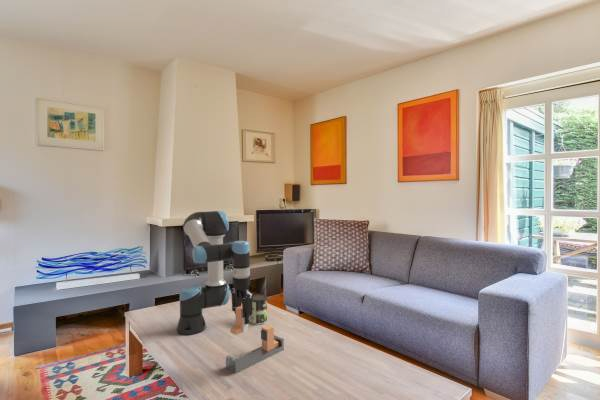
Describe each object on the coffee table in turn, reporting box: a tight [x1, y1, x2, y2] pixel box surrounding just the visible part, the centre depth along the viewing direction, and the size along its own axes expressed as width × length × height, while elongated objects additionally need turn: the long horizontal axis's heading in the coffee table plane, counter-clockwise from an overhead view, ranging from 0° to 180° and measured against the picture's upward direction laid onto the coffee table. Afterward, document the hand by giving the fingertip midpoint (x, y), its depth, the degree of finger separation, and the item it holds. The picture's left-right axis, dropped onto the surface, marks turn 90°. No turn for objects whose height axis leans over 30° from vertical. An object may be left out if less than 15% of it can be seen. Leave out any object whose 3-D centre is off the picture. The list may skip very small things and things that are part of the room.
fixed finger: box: [260, 324, 279, 351], centre depth 157 cm, size 4×8×10 cm, turn 137°
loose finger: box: [229, 305, 250, 336], centre depth 145 cm, size 4×8×10 cm, turn 137°
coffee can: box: [249, 294, 268, 326], centre depth 194 cm, size 10×10×14 cm
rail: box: [225, 334, 285, 374], centre depth 151 cm, size 7×28×5 cm, turn 137°
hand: (242, 329), depth 146 cm, fingers closed on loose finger, 4 cm apart
